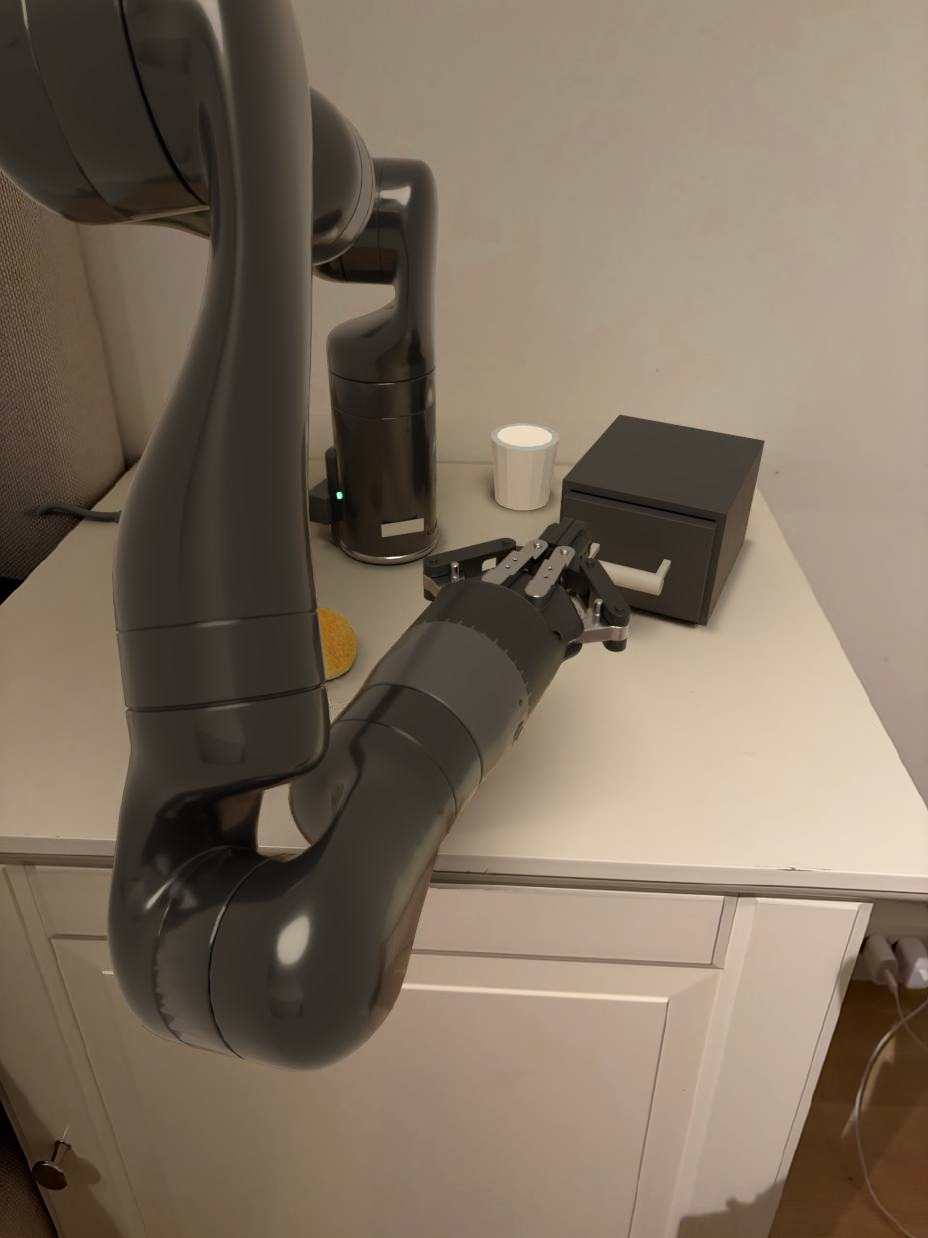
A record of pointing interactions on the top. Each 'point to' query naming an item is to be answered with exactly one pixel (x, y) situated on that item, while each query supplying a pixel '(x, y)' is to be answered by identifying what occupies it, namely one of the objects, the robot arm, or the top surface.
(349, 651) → the bread roll
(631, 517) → the cabinet drawer
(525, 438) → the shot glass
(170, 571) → the robot arm
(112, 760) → the top surface
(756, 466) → the single drawer cabinet
